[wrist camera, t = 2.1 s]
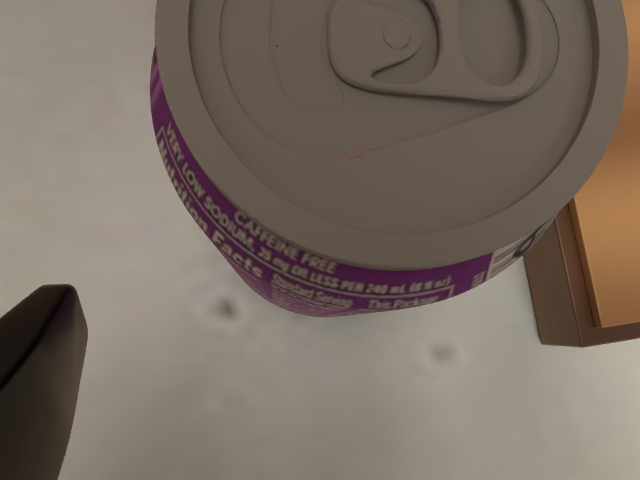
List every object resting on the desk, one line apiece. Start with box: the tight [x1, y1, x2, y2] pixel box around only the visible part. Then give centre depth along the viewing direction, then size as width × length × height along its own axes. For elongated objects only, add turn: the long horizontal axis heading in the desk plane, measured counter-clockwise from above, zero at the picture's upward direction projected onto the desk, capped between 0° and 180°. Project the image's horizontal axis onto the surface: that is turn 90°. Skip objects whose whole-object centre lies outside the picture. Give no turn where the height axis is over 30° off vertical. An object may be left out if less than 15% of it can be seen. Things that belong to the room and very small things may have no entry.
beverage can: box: [150, 0, 628, 317], centre depth 13 cm, size 7×7×12 cm
